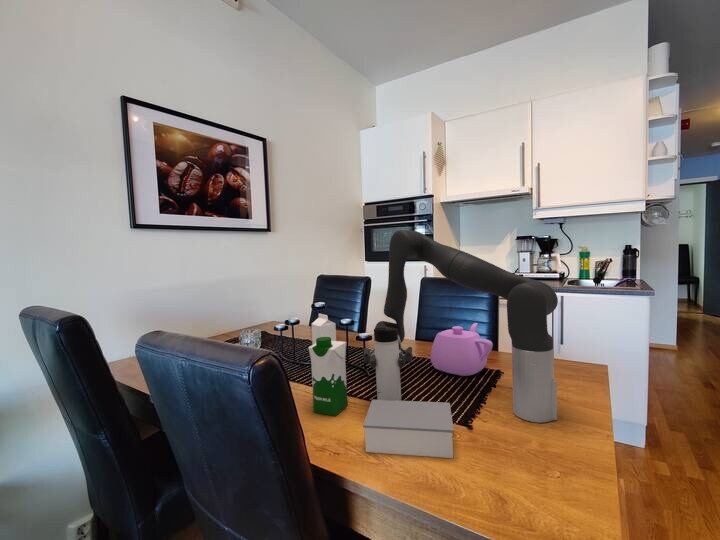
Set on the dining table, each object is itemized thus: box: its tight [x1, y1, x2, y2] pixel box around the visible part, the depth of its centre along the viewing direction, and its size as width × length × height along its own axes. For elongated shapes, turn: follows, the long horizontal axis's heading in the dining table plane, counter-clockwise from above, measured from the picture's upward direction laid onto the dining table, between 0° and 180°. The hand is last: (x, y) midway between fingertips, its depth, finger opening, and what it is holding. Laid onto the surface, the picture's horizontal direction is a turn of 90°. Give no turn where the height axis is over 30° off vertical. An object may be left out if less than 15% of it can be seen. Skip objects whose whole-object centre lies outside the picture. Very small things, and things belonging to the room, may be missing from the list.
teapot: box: [430, 322, 494, 377], centre depth 120 cm, size 23×21×15 cm
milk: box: [311, 313, 337, 345], centre depth 117 cm, size 6×6×22 cm
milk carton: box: [308, 337, 349, 417], centre depth 94 cm, size 9×9×20 cm
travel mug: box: [373, 327, 402, 401], centre depth 89 cm, size 6×7×20 cm
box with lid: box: [362, 399, 455, 459], centre depth 77 cm, size 19×13×6 cm
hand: (387, 363), depth 87 cm, fingers closed on travel mug, 6 cm apart
